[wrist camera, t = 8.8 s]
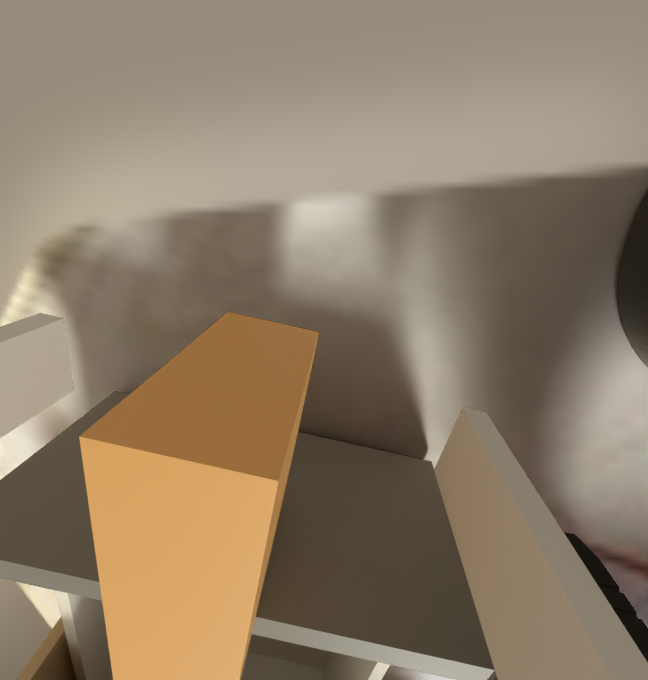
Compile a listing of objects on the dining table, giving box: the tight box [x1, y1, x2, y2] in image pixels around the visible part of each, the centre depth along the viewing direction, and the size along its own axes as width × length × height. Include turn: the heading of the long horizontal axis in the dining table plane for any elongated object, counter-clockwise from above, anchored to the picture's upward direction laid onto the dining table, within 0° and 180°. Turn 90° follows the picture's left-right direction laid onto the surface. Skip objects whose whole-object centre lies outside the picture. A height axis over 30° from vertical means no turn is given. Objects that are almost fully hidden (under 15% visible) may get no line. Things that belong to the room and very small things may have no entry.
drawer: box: [0, 312, 495, 680], centre depth 15 cm, size 18×30×11 cm, turn 169°
